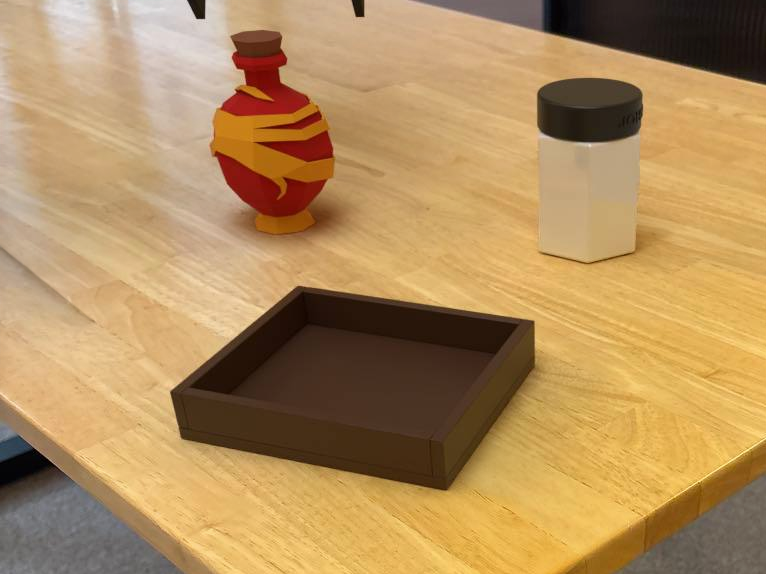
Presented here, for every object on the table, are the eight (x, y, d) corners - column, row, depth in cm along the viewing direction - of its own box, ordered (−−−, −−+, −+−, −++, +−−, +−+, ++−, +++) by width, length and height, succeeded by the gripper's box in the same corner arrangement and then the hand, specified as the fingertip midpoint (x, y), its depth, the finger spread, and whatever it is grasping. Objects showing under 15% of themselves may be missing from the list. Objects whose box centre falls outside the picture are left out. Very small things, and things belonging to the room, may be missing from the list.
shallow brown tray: (180, 438, 66) (169, 391, 64) (304, 327, 78) (297, 284, 76) (446, 490, 62) (442, 441, 60) (535, 364, 73) (534, 320, 71)
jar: (639, 264, 86) (647, 108, 79) (536, 264, 86) (536, 108, 79) (632, 221, 93) (640, 75, 86) (538, 221, 93) (537, 75, 86)
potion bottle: (201, 221, 94) (164, 35, 85) (304, 192, 99) (279, 15, 90) (263, 257, 88) (230, 61, 79) (369, 224, 93) (349, 37, 84)
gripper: (426, -186, 98) (428, 32, 95) (149, -184, 97) (144, 36, 95) (418, -257, 90) (420, -22, 88) (118, -255, 90) (111, -18, 87)
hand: (276, 9), depth 91 cm, fingers open, 13 cm apart
